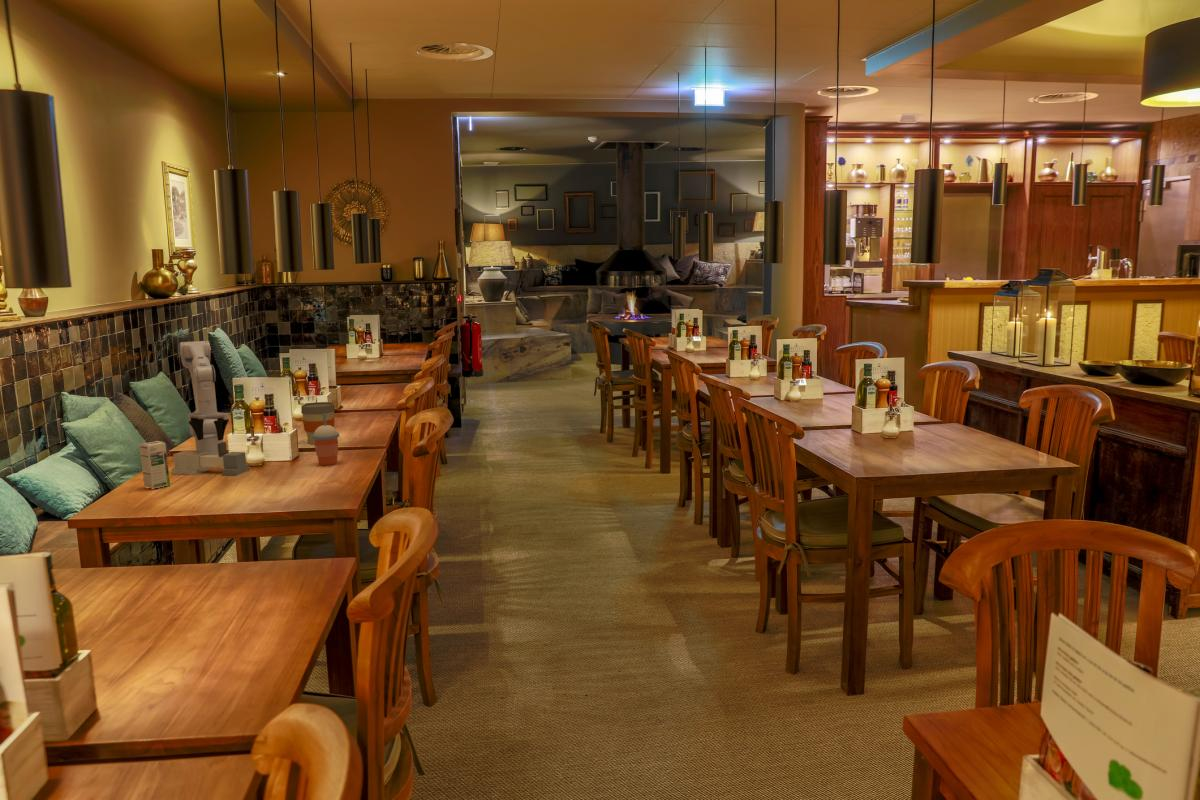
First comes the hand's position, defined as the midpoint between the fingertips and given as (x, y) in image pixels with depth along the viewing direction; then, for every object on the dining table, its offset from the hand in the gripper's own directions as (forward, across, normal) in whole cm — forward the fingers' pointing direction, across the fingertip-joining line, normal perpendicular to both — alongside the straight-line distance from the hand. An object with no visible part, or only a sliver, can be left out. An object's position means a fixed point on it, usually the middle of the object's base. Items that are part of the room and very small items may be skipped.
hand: (210, 439), depth 302 cm
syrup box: (+11, -4, -24) cm, 27 cm away
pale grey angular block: (+8, +5, -4) cm, 10 cm away
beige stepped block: (+10, -5, -4) cm, 12 cm away
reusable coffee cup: (+11, +16, +46) cm, 50 cm away
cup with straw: (+11, +37, +11) cm, 40 cm away
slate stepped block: (+10, +11, -4) cm, 16 cm away
